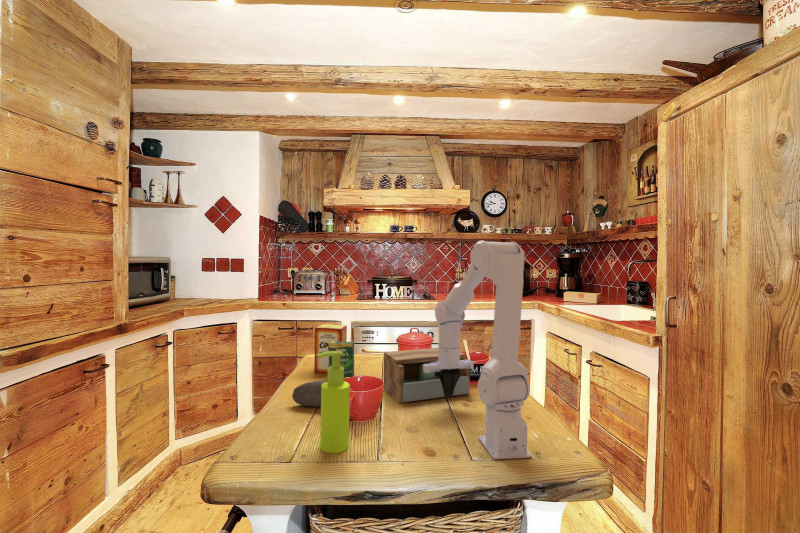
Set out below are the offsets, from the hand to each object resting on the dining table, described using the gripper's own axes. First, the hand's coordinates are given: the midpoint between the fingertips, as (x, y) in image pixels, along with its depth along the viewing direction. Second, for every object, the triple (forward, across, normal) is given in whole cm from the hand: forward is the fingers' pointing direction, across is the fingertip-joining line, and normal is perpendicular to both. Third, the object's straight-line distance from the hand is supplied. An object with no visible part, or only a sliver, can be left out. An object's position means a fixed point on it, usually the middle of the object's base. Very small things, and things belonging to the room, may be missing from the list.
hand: (448, 396), depth 104 cm
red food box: (+3, +22, -44) cm, 49 cm away
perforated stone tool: (+3, +32, -12) cm, 34 cm away
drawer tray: (+3, 0, -12) cm, 13 cm away
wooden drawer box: (+3, 0, -13) cm, 14 cm away
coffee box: (+3, +22, -29) cm, 37 cm away
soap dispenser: (+3, +34, +11) cm, 36 cm away
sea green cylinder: (+1, 0, -12) cm, 12 cm away
